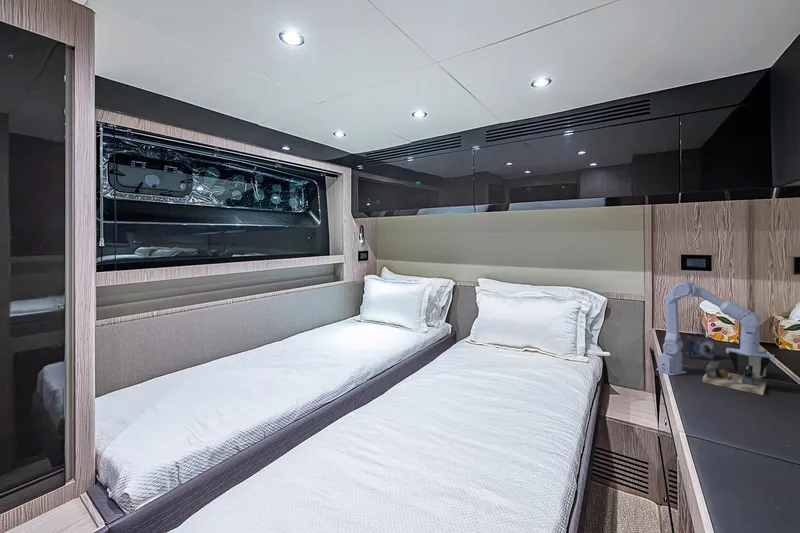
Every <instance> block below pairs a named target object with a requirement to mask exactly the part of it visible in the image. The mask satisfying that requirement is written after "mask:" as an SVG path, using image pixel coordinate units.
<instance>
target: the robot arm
mask: <svg viewBox="0 0 800 533" xmlns="http://www.w3.org/2000/svg"><path fill="white" fill-rule="evenodd" d="M688 296H690V297H692V298H693V297H695V298H697V297H698V298H701V299H703V300H705V301H707V302H709V303H710V304H713V305H715V306H716V307H718V308H719V309H720V310H719V311H720V312H721V313H723V314H724V315H726V316H727V317H729V318H731V319H733V320H735V321H737V322H739V323H740V325H741V329H740V341H739V343H740V344H739V348H733V347H726V348H725V353H726V354H728V356H729V358H730V360H731V362H732V365H733V367H734V372H738V370H739V366H738V364H739V363H738V361H739V355H740V356H745V357H746V356H747V357H749V356H751V357H757V358H762V359H761V370H760V376H762V375H763V371H764V369H765V367H766V368H767V366H768V365H769V364H770V362H771V361H775V354H772V353H771V354H770V353H768V352H767V353H762V352H759V349H760V325H761V317H760V316H759V315H758V314H757V313H756V312H754V311H751V310H750V309H746V308H743V306H740V305H739V303H738V302H736V301H734V302H733V301H730V300H729V301H725V300H723V299H722V298H720V297H718V296H717V295H715V294H714V293H712V292H711V291H708V290H707V289H705V288H704V287H702V286H700V285H699V284H696V283H694V282H692V281H690V280H684V281H681V282H679V283H677V284H676V285H674V286H672V287H671V288H670V290H669V291H668V293H666V295H665V297H664V312H665V313H664V314H665V330H666V331H665V337H664V343H663V344H662V349H663V352H662V353H661V354H660V355H658V357H657V368H656V370H657V371H658V372H661V373H664V374H667V375H669V376H675V375H681V374H687V372H688V371H686V370H683V352H682V349H684V348H683V347H684V342H683V341H682V338H681V337H682V336H681V335H680V323H679V301H680V300H682V298H685V297H688Z"/></svg>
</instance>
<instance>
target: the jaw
mask: <svg viewBox="0 0 800 533" xmlns="http://www.w3.org/2000/svg"><path fill="white" fill-rule="evenodd" d="M754 378H756V377H755V373H753V366H751V365H749V364H745V365H744V371H743V375H742V383H744V384H748V385H752V384H753V382H754Z"/></svg>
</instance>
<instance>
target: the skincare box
mask: <svg viewBox="0 0 800 533" xmlns="http://www.w3.org/2000/svg"><path fill="white" fill-rule="evenodd" d="M767 351H768V350H767V349H764V348H759V352H762V353H767V354H768V352H767ZM761 359H762V358H757V357H751V356H748V365H751V366H753V373H755V377H754V378H758V379H762V378H765V377H766V376H767V366H766V367H765V369H764V371H763V375H762V376H760V370H761Z"/></svg>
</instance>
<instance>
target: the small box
mask: <svg viewBox="0 0 800 533" xmlns="http://www.w3.org/2000/svg"><path fill="white" fill-rule="evenodd" d="M715 342H716V341H715V339H713V338H711V337H708V336H695V335H694V336H692V335H685V351H684V352H685V353H684V354H685V356H687V358H689V359H695V360H696V359H697V360H708V361H709V360H710V361H714V360H715Z"/></svg>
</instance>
